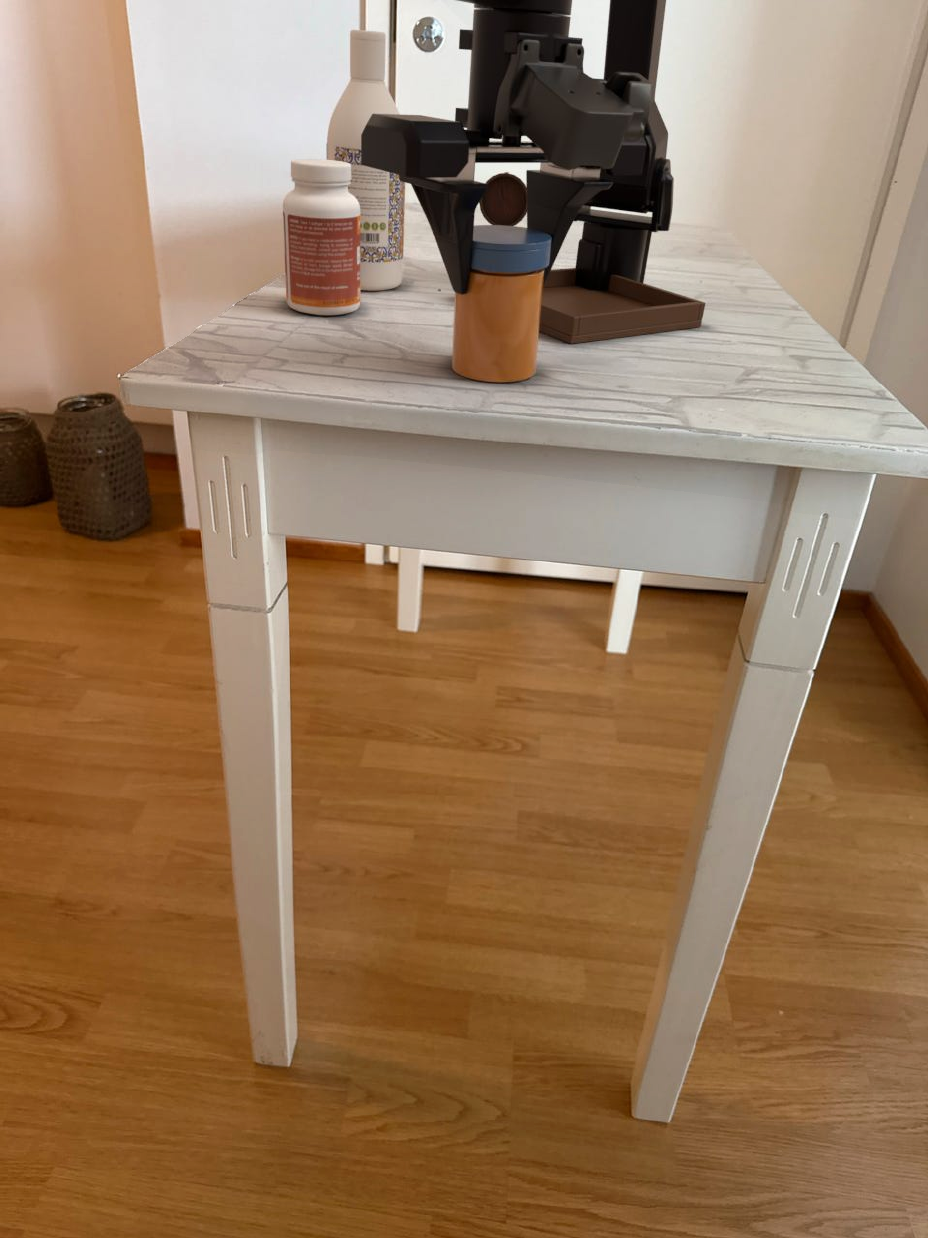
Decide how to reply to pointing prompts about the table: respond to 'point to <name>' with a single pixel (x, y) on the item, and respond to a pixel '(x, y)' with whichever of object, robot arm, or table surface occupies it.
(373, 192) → the bath foam
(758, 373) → the table surface
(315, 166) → the pill bottle
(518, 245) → the lid
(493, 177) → the compass
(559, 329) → the tray
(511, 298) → the jar
